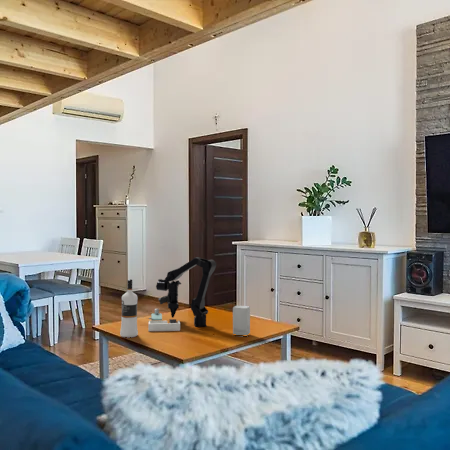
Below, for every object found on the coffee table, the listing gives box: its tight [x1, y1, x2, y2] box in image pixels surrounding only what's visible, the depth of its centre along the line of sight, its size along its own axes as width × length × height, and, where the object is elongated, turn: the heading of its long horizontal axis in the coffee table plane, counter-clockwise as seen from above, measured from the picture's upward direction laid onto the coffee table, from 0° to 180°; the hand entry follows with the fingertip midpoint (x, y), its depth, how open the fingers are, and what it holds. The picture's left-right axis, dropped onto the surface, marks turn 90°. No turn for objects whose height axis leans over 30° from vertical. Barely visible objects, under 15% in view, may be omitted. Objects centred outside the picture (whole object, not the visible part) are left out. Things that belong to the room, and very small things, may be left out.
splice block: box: [169, 318, 177, 323], centre depth 274 cm, size 4×4×3 cm
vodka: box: [119, 279, 139, 339], centre depth 248 cm, size 9×9×30 cm
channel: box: [147, 320, 181, 332], centre depth 263 cm, size 18×8×4 cm, turn 98°
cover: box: [148, 308, 163, 321], centre depth 272 cm, size 15×8×4 cm, turn 9°
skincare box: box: [232, 305, 251, 335], centre depth 254 cm, size 8×7×16 cm
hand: (172, 317), depth 281 cm, fingers closed
